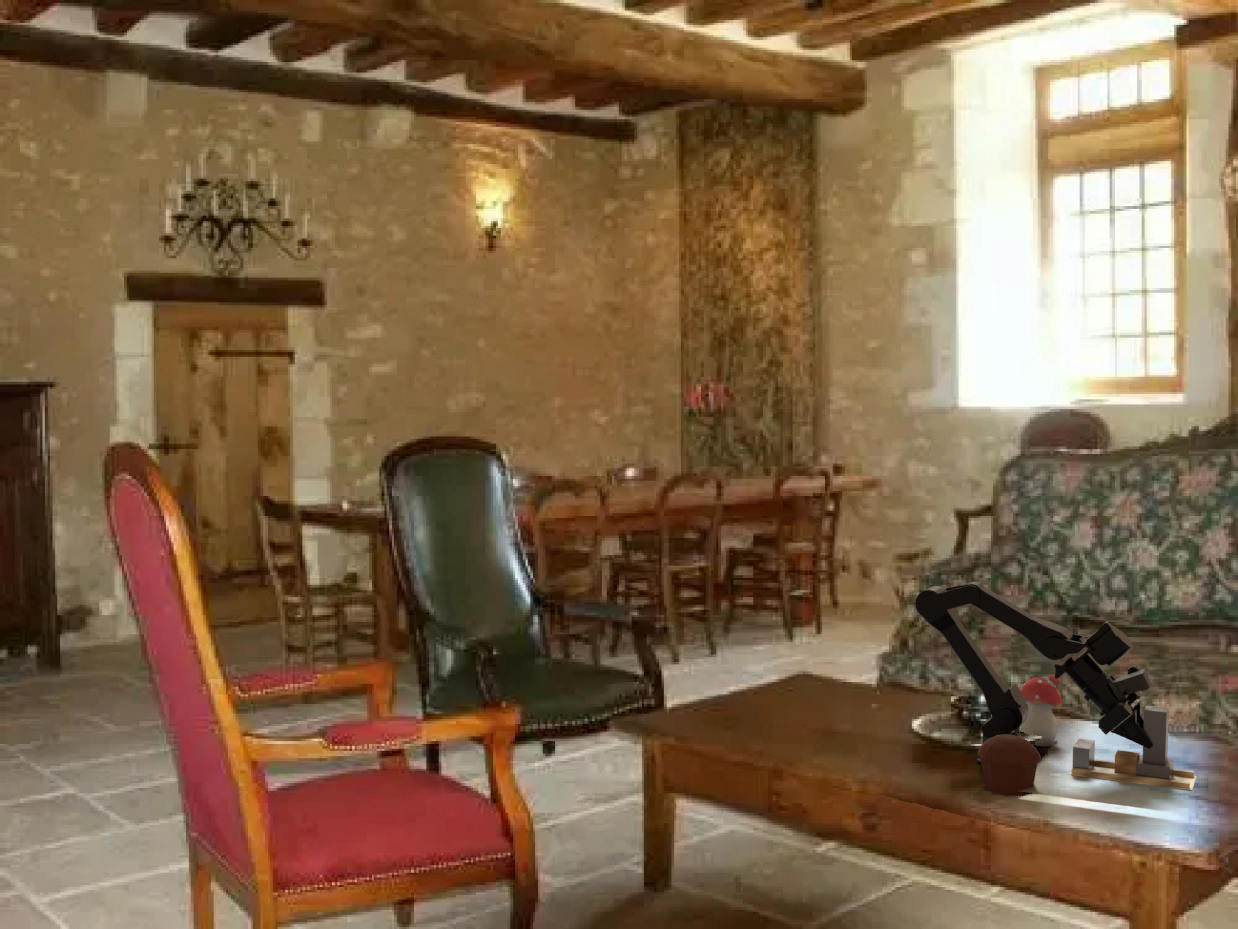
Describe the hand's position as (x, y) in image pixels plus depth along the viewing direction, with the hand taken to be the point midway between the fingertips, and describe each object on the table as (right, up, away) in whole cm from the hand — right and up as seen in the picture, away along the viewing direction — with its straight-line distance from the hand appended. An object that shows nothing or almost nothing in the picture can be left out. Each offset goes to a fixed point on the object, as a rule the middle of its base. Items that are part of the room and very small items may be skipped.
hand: (1152, 744), depth 265 cm
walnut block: (-4, -6, +2) cm, 8 cm away
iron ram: (0, -6, 0) cm, 6 cm away
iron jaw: (-11, -6, +6) cm, 14 cm away
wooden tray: (-3, -7, +2) cm, 8 cm away
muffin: (-28, -8, -3) cm, 29 cm away
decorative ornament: (-13, -6, +30) cm, 33 cm away
